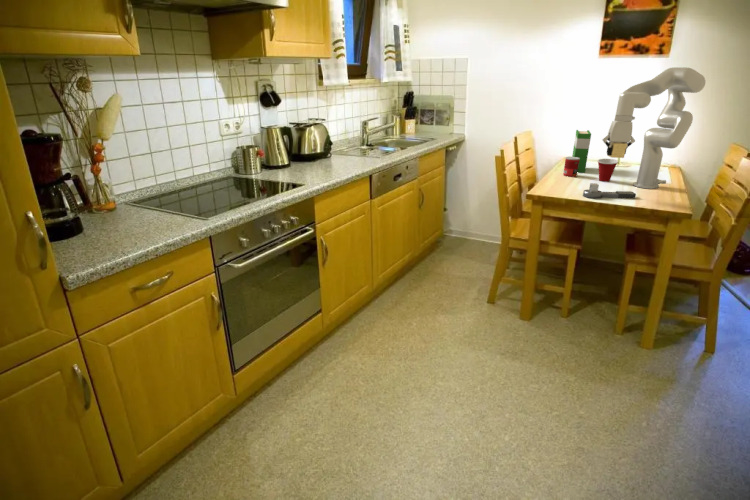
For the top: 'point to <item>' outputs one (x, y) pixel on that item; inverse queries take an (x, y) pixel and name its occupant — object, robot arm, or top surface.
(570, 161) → the canned food
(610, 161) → the plastic cup
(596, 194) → the ratchet
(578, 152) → the hardback book
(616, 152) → the tan wooden block
